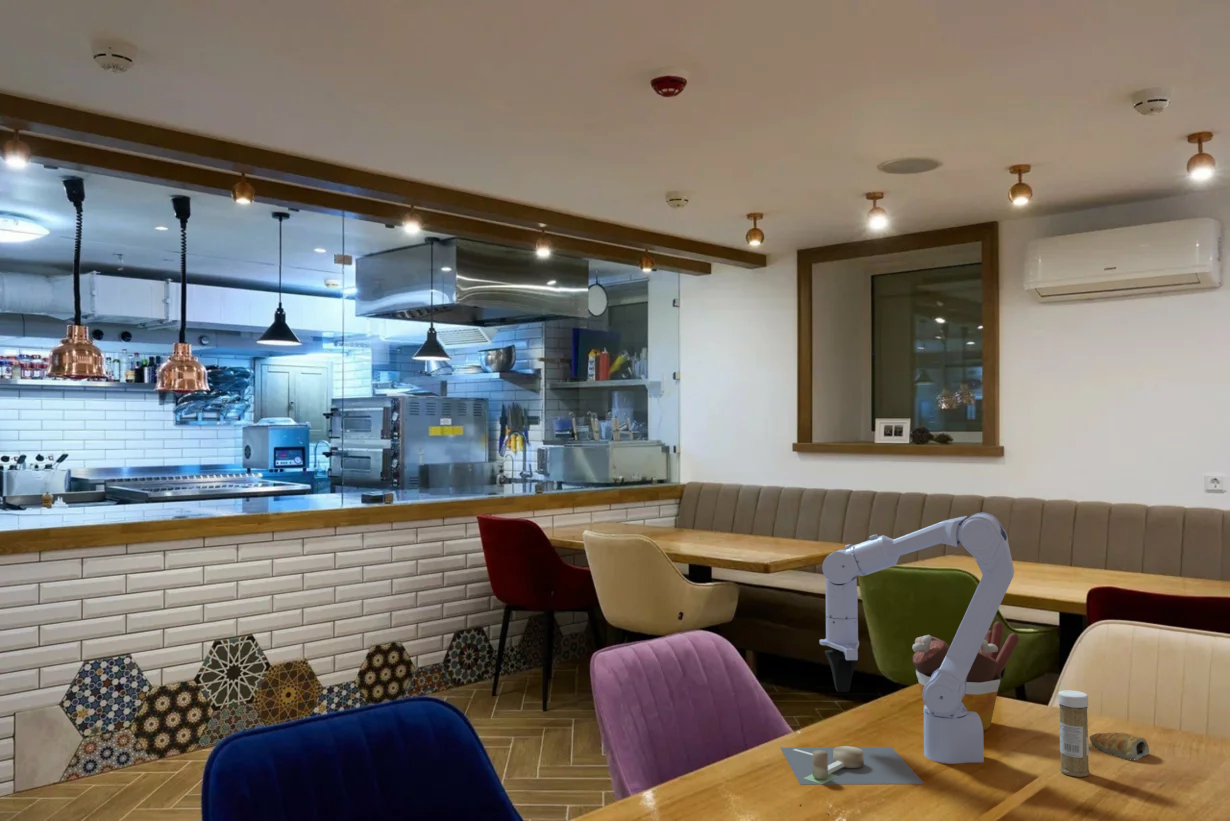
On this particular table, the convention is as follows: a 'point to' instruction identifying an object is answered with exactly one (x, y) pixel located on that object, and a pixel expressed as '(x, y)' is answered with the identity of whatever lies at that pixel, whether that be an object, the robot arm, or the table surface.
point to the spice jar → (1074, 733)
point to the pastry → (1120, 745)
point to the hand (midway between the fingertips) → (842, 691)
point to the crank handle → (836, 760)
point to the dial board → (877, 768)
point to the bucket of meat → (981, 674)
